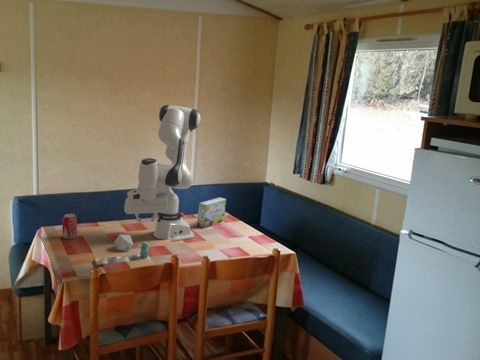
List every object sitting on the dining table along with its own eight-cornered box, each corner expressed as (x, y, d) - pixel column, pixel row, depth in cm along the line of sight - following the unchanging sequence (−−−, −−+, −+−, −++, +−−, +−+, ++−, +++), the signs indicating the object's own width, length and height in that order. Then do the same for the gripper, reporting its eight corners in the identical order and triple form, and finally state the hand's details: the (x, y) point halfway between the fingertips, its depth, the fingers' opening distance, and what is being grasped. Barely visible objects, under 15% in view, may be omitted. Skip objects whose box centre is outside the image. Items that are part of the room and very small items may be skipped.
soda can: (64, 234, 249) (64, 212, 246) (78, 235, 249) (78, 213, 247) (60, 239, 242) (61, 217, 239) (74, 240, 243) (75, 217, 240)
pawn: (147, 255, 229) (149, 240, 227) (147, 258, 226) (149, 243, 224) (140, 255, 228) (141, 240, 226) (140, 258, 225) (141, 243, 223)
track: (147, 255, 232) (147, 253, 231) (151, 261, 226) (152, 259, 225) (93, 261, 220) (93, 258, 219) (96, 267, 214) (96, 264, 213)
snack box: (203, 229, 279) (205, 204, 275) (196, 226, 282) (198, 202, 278) (224, 221, 296) (226, 198, 293) (217, 219, 299) (219, 196, 296)
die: (122, 257, 229) (135, 240, 230) (108, 246, 230) (121, 229, 231) (126, 256, 237) (138, 240, 239) (112, 246, 238) (125, 230, 239)
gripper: (166, 191, 227) (164, 218, 230) (124, 192, 218) (122, 220, 221) (170, 194, 222) (168, 222, 225) (127, 195, 213) (126, 225, 216)
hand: (145, 221), depth 223 cm, fingers open, 5 cm apart
